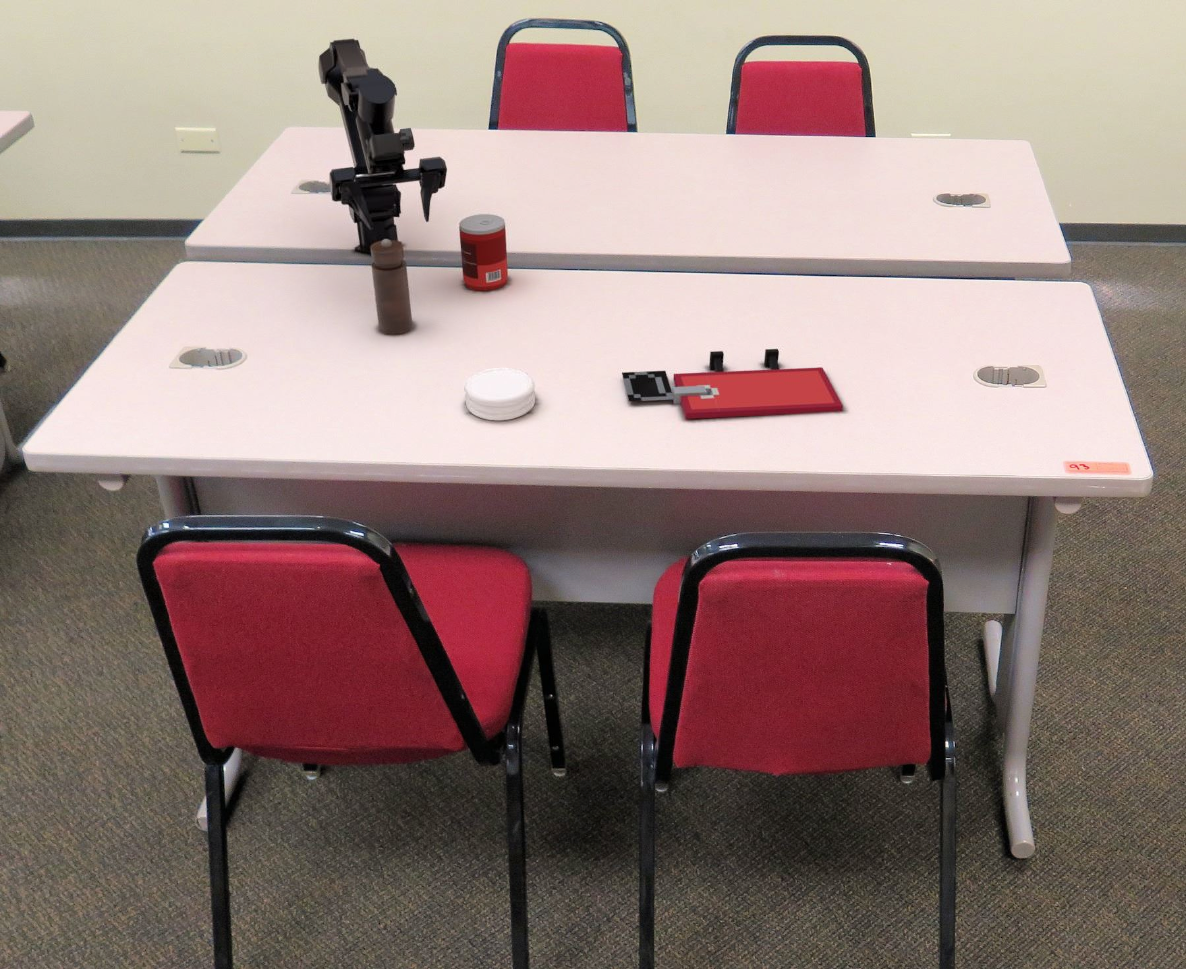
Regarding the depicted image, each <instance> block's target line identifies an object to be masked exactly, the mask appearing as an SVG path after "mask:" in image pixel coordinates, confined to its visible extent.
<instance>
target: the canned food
mask: <svg viewBox="0 0 1186 969" xmlns="http://www.w3.org/2000/svg"><path fill="white" fill-rule="evenodd" d="M458 225H459V227H458V228H459V243H460V254H461V255H460V256H461V257H460V258H461V267H462V268H461V269H462V279H463V283H464V286H466V287H467V288H468V289H470V290H472V291H479V292H488V291H489V292H490V291H494V290H495V291H496V290H497V289H500V288H502V287H504V286H505V285H506V284H507V282H508V278H509V275H508V274H509V273H508V272H509V271H508V256H507V255H508V251H507V232H506V222H505V219H504V218H503V217H501V216H499V215H497V214H490V213H483V214H482V213H480V214H479V213H478V214H473V215H470V216H469V215H468V216H467V217H465V218H462V219H461V220H460V221H459V223H458Z"/></svg>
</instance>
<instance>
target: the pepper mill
mask: <svg viewBox="0 0 1186 969" xmlns="http://www.w3.org/2000/svg"><path fill="white" fill-rule="evenodd" d="M401 242H402V241H400V242H399V240H398V241H395V240H389V239H384V240H383V241H378V242H376V243H374V244H372V245H371V247H370V248H371V254H370V255H371V256H370V257H371V261H372V262H371V267H370V268H371V275H372V282H373V284H372V285H373V291H374V300H375V308H376V315H377V316H376V317H377V323H378V331H379V332H381V333H382V334H385V335H389V336H397V335H402V334H407V333H409V332H410V331H412V329H413V326H414V325H413V317H412V308H411V298H410V287H409V286H410V285H409V278H408V268H407V262H406V261H405V252H404V251H405V250H404V244H403V243H401Z"/></svg>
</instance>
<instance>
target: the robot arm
mask: <svg viewBox="0 0 1186 969" xmlns="http://www.w3.org/2000/svg"><path fill="white" fill-rule="evenodd" d="M317 65H318V66H317V68H318V76H319V79H320V84H321V85H324V87H325V90H326V94H327V97H328V98H329V99H330V100H332V102H334V103H335V104H336V105H337V106H338V108H339V110H340V114H341V118H342V122H343V123H342V124H343V127H344V131H345V134H346V135H345V136H346V139H347V144H348V147H349V152H350V155H351V159H352V162H353V166H349V167H341V168H332V169H331V171H330V172H329V174H328V175H329V180H328V181H329V192H330V197H331V201H333V202H336V203H337V202H340V203H341V205H343V206H348V211H349V216H350V218H351V220H352V222H353V223H354V224H356V228H357V235H358V244H359V245H357V246H354V251H355V252H359V253H364V254H369V255H371V248H370V247H371V245H372V244H374V243H376V242H378V241H383V240H384V239H389V240H395V241H399V238H398V229H397V228H398V227H397V224H396V223H395V218H400V216H401V214H402V207H401V202H402V191H401V190H399V188H398V186H397V184H403V183H404V184H405V183H413V182H418V183H419V186H420V192H419V193H420V199H421V207H422V213H423V218H424V220H425V222H426V223H428V222H429V221H430V212H431V201H432V196H433V194H438V192H439V190H440V189H443V188H444V187H445V186H446V180H447V173H448V167H447V164H446V161H445V160H444V159H443V158H442V157H441V156H433V157H425V158H419V163H418V167H415V168H406V169H405V168H404V165H406V157H405V153H406V152H407V151H409V152H410V151H413V150H414V149H415V147H416V146H415V144H416V143H415V138H414V135H413V131H412V128H411V127H405V128H401V129H399V131H398V132H395V129H394V124H393V121H392V120H393V119H394V115H395V105H396V96H398V91H397V87H396V84H395V82H394V81H393V80H392V79H391V78H390V77H389V76H386V75H385V74H384V73H383V72H382V71H381V70H380V69H379V68H378V67H376V68H375V67H370V66H369V64H368V62H367V57H366V53H365V51H364V50H363V49H362V47H361V45H360V41H359V39H355V38H344V39H333V41H329V46H328V48H327V49H326V50H325V51H323V52H322V53H320V54H319V55H318V64H317ZM399 242H401V243H402V241H399ZM402 244H403V243H402Z"/></svg>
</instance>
